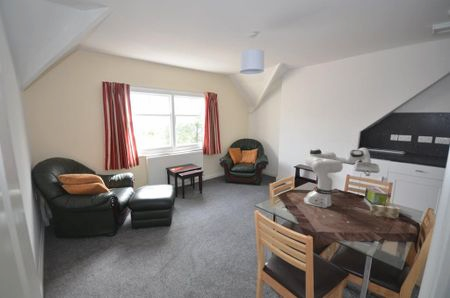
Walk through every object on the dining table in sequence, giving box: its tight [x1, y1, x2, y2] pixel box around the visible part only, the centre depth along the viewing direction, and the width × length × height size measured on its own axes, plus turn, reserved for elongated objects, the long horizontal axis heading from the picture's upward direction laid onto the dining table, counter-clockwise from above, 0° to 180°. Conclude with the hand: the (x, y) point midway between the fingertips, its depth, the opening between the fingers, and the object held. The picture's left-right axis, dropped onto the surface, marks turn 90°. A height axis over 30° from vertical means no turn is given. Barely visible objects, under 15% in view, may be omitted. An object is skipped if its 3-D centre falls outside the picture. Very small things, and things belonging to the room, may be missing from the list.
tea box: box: [363, 185, 388, 208], centre depth 175 cm, size 15×10×15 cm, turn 168°
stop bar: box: [369, 204, 401, 219], centre depth 159 cm, size 18×3×8 cm, turn 75°
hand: (368, 175), depth 192 cm, fingers closed
